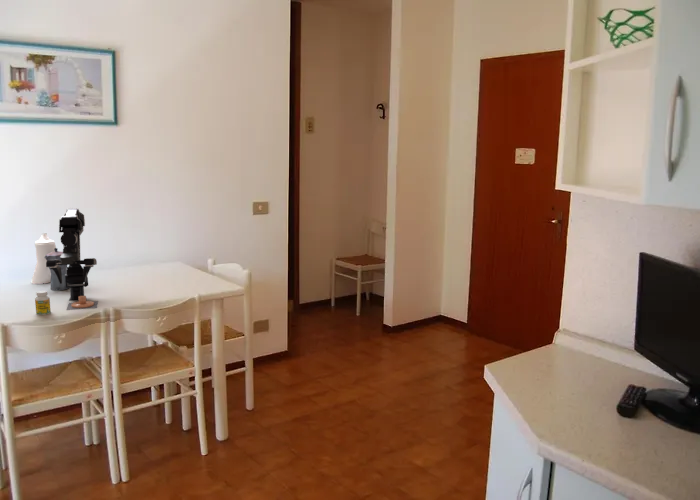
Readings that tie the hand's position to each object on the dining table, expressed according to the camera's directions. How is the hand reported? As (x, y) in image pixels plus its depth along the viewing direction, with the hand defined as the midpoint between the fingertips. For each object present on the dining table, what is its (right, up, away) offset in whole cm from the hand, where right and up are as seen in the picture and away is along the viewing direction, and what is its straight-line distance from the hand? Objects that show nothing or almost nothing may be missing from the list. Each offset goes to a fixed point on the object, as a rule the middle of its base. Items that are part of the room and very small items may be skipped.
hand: (72, 283), depth 252 cm
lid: (+1, -10, +8) cm, 13 cm away
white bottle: (-38, -2, +51) cm, 63 cm away
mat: (+1, -11, +8) cm, 13 cm away
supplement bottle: (-10, -13, -4) cm, 17 cm away
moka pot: (-24, -5, +39) cm, 46 cm away
